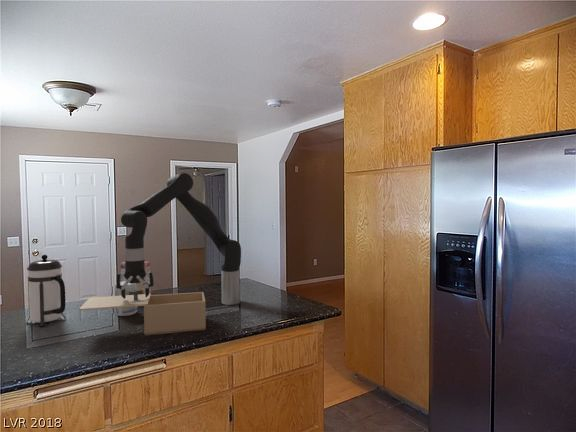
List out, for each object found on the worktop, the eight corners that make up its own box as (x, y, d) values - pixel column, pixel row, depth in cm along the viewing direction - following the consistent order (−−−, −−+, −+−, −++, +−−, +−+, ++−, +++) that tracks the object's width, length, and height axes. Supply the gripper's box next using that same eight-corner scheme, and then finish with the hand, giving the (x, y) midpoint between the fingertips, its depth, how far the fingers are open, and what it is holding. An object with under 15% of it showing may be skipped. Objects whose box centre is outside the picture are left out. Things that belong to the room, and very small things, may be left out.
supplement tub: (140, 310, 180) (140, 280, 179) (131, 317, 171) (130, 285, 170) (121, 310, 181) (121, 280, 180) (111, 316, 171) (110, 285, 170)
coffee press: (18, 330, 153) (16, 258, 152) (33, 318, 169) (31, 252, 167) (65, 326, 158) (63, 256, 156) (76, 314, 173) (74, 251, 172)
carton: (203, 317, 170) (203, 291, 169) (205, 329, 155) (205, 301, 154) (148, 322, 163) (147, 295, 163) (144, 335, 148) (144, 305, 147)
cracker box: (151, 299, 201) (151, 260, 200) (146, 302, 195) (145, 262, 194) (127, 298, 202) (126, 260, 201) (121, 301, 196) (120, 262, 195)
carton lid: (150, 295, 163) (150, 285, 163) (147, 305, 148) (147, 295, 147) (89, 299, 157) (89, 289, 156) (79, 310, 141) (78, 299, 141)
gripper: (153, 256, 159) (154, 294, 159) (117, 258, 155) (118, 296, 156) (152, 259, 151) (153, 298, 152) (114, 261, 147) (115, 301, 148)
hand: (135, 297), depth 154 cm, fingers open, 8 cm apart
